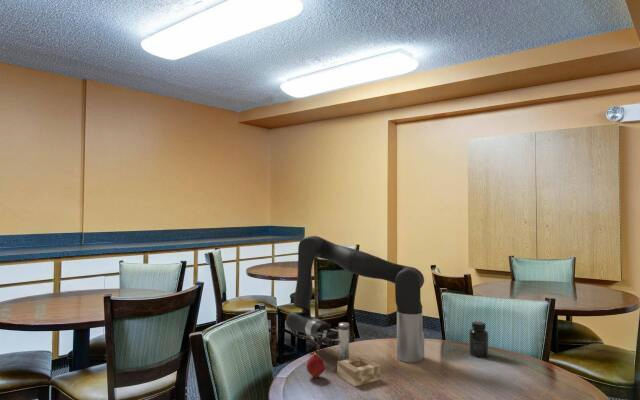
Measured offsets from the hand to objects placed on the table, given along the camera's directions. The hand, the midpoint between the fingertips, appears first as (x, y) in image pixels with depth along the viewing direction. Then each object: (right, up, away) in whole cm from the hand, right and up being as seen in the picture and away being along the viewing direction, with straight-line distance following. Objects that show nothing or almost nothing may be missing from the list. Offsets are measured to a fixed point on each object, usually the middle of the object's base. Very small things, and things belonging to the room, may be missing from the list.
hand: (342, 341), depth 146 cm
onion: (-9, -8, -11) cm, 16 cm away
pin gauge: (+1, -8, -1) cm, 9 cm away
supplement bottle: (+53, -10, +13) cm, 55 cm away
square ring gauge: (+5, -8, -10) cm, 14 cm away
